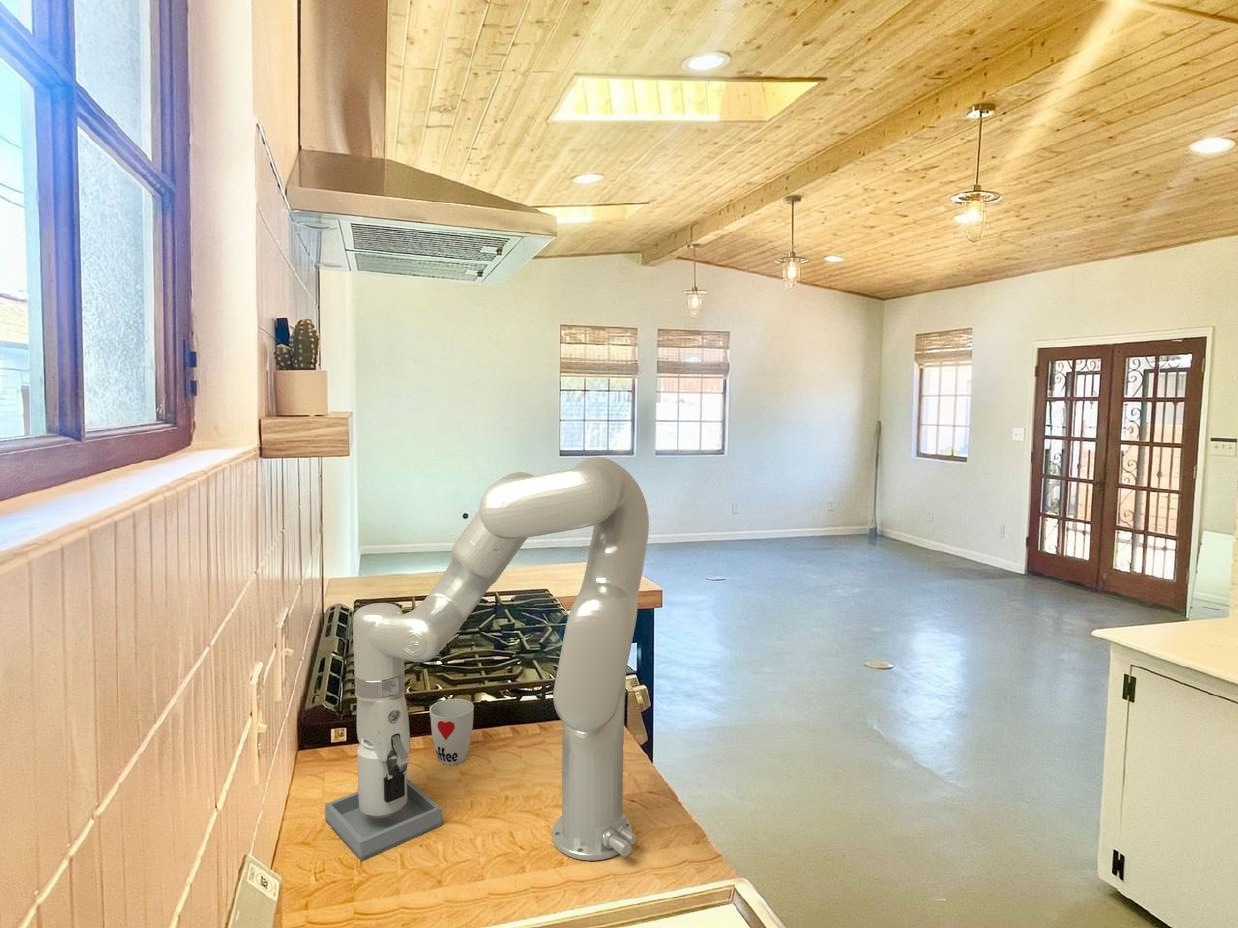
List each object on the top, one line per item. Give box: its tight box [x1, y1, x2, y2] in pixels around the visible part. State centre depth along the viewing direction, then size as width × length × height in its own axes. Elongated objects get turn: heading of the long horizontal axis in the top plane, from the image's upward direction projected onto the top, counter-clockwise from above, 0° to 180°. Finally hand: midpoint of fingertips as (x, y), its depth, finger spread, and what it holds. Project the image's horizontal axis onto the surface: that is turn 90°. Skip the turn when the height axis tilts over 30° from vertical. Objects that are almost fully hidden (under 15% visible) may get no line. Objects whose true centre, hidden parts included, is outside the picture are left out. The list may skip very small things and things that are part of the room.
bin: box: [324, 778, 443, 862], centre depth 121 cm, size 14×14×3 cm
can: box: [356, 738, 408, 818], centre depth 120 cm, size 8×8×12 cm
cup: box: [429, 698, 475, 766], centre depth 142 cm, size 8×8×10 cm
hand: (382, 787), depth 121 cm, fingers closed on can, 7 cm apart
